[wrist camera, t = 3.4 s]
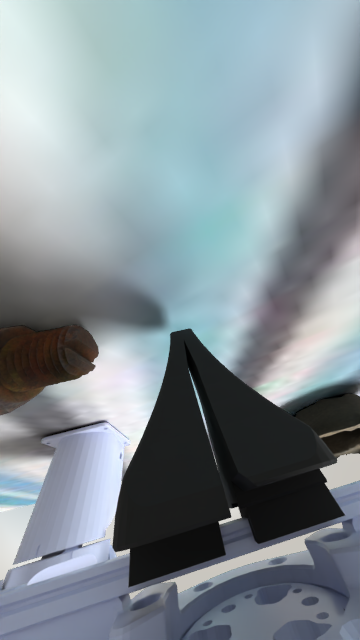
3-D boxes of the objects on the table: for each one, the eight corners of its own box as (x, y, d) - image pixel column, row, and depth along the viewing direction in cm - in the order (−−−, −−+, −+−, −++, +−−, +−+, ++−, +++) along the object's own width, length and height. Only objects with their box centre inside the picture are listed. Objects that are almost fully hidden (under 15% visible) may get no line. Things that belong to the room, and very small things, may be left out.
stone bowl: (339, 416, 43) (375, 458, 36) (255, 430, 43) (274, 476, 36) (411, 369, 28) (500, 428, 20) (280, 392, 28) (323, 458, 20)
